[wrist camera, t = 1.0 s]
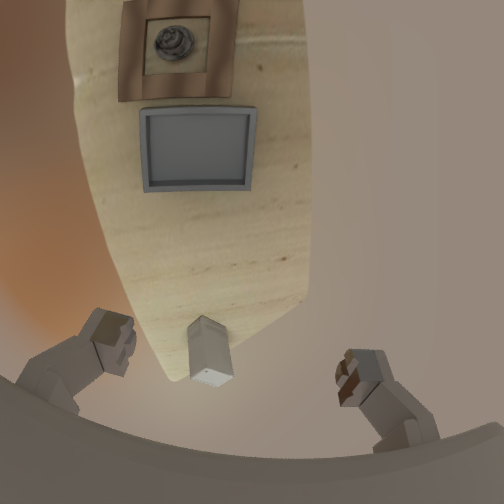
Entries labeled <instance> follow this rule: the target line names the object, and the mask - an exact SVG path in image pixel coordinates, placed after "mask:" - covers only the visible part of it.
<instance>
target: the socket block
mask: <svg viewBox="0 0 504 504" xmlns="http://www.w3.org/2000/svg"><path fill="white" fill-rule="evenodd" d="M238 3H239V0H132V1H126V2H123V10H122V20H121V31H120V45H119V68H118V102H124V101H132V100H143V99H155V98H171V97H231V85H232V71H233V59H234V46H235V35H236V24H237V13H238ZM174 18H210V29H209V41H208V54H207V69H206V73H174V74H158V75H146V76H144V68H145V47H146V33H147V21H150V20H160V19H174Z"/></svg>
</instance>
